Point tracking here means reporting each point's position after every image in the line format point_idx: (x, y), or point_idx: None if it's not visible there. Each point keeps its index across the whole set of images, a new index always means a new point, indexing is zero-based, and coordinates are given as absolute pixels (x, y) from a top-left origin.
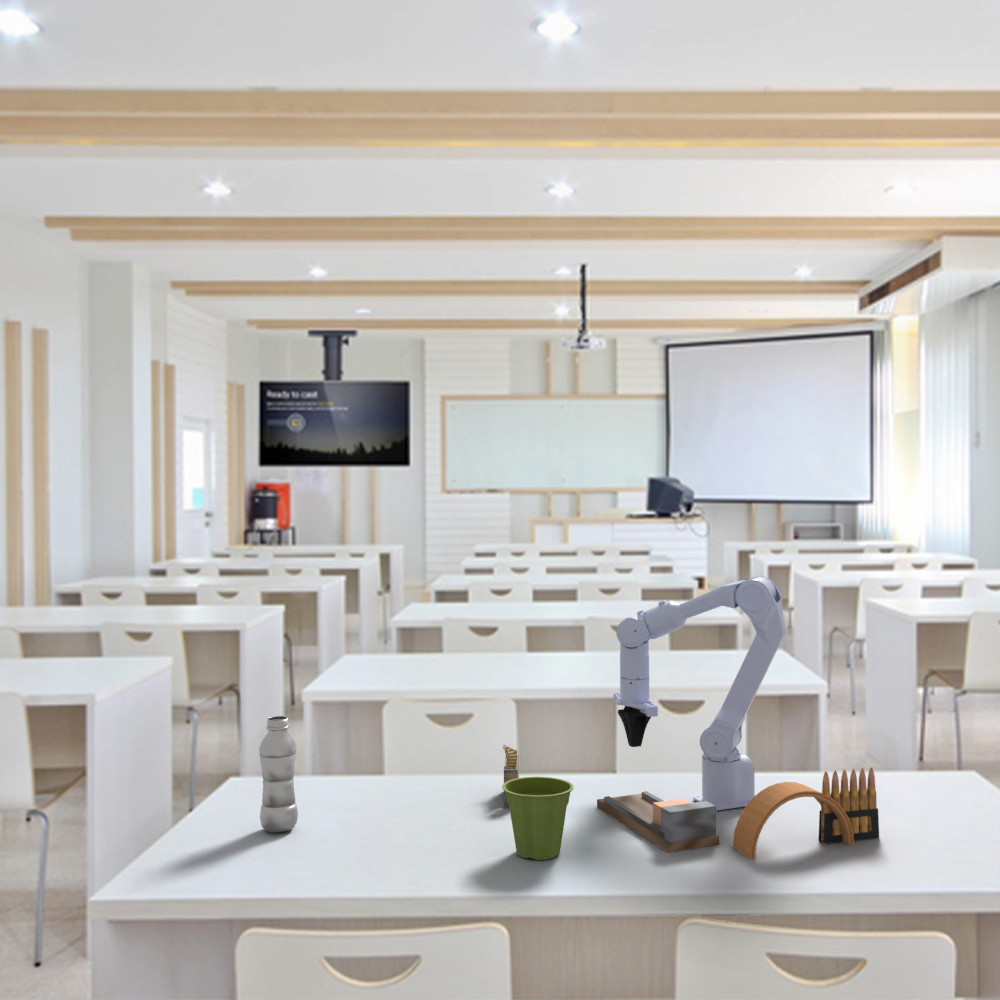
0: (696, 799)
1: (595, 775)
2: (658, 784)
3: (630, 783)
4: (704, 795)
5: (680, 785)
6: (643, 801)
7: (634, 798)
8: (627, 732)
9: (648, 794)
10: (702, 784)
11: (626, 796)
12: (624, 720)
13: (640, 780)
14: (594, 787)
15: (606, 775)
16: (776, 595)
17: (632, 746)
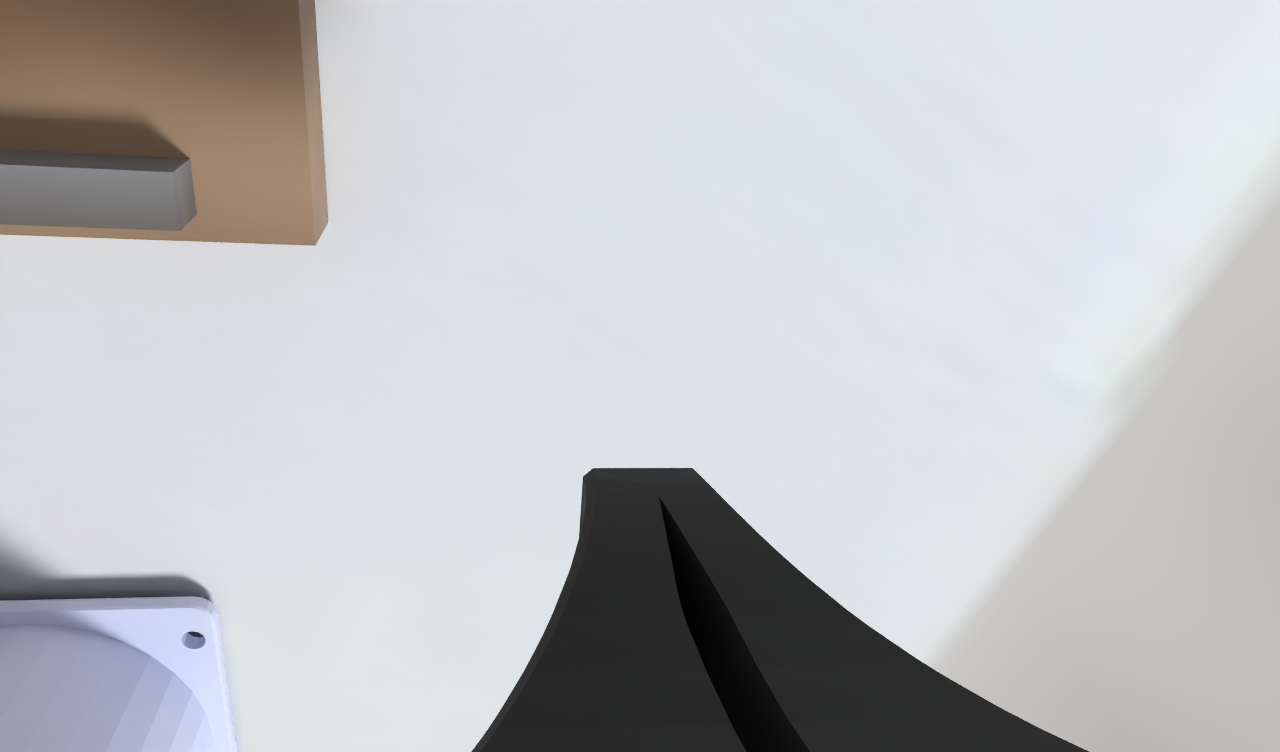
0: (140, 605)
1: (1206, 236)
2: None
3: (846, 385)
4: (12, 663)
5: None
6: (21, 88)
7: (164, 57)
8: (720, 576)
9: (46, 188)
10: (34, 735)
11: (268, 14)
12: (832, 736)
13: (867, 490)
14: (934, 23)
15: (1142, 321)
16: None
17: (588, 478)
